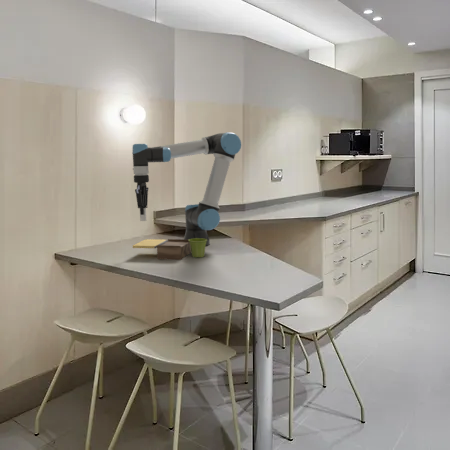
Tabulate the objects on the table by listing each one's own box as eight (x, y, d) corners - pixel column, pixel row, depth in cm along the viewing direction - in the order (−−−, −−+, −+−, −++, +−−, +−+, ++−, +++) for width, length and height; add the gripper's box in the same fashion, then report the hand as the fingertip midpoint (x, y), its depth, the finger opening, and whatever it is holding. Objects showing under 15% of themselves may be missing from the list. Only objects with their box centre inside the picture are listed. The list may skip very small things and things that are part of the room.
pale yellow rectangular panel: (156, 246, 246) (132, 245, 249) (156, 248, 247) (132, 248, 249) (168, 239, 264) (145, 239, 267) (168, 241, 264) (145, 241, 267)
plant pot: (197, 253, 259) (197, 237, 258) (211, 256, 253) (211, 239, 252) (185, 257, 252) (184, 240, 251) (198, 259, 246) (198, 242, 245)
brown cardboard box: (180, 259, 245) (180, 245, 244) (157, 259, 248) (156, 245, 246) (190, 252, 262) (190, 239, 261) (168, 251, 265) (168, 238, 264)
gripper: (139, 174, 259) (141, 218, 263) (129, 175, 247) (131, 222, 250) (152, 173, 258) (154, 219, 261) (143, 175, 245) (145, 222, 249)
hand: (143, 220), depth 256 cm, fingers closed
